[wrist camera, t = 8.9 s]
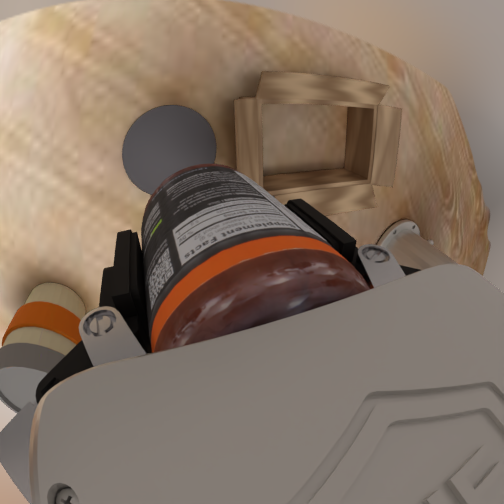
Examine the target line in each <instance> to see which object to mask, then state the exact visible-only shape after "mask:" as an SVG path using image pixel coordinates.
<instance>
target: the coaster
mask: <svg viewBox="0 0 504 504" xmlns="http://www.w3.org/2000/svg"><path fill="white" fill-rule="evenodd" d="M215 157H216V139H215V136H214V133H213V130H212V128H211V126H210V125H209V123H208V122H207V121H206V120H205V118H203V117H202V116H201V115H200V114H199V113H197V112H196V111H194V110H192V109H190V108H187V107H183V106H178V105H166V106H161V107H157V108H154V109H152V110H150V111H148V112H146V113H145V114H143V115H142V116H141V117H139V118H138V119H137V120H136V121H135V122H134V124H133V125H132V126H131V128H130V129H129V131H128V133H127V135H126V137H125V140H124V144H123V150H122V158H123V164H124V168H125V171H126V173H127V175H128V177H129V178H130V180H131V181H132V182H133V183H134V184H135V185H136V186H137V187H138V188H139V189H141V190H142V191H144V192H146V193H148V194H151V195H152V194H153V193H154V191H155V190H156V189H157V188H158V187H159V186H160V185H161V183H162V182H163V181H164V180H165V179H166V178H168V177H169V176H171V175H172V174H174V173H176V172H178V171H179V170H182V169H184V168H187V167H190V166H194V165H199V164H214V161H215Z"/></svg>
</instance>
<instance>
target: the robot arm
mask: <svg viewBox="0 0 504 504" xmlns="http://www.w3.org/2000/svg"><path fill="white" fill-rule="evenodd" d="M284 206H285V207H286V208H288V209H289V210H290V211H291V212H293V213H294V214H295V215H296V216H298V217H299V218H300V219H301V220H302V221H303V222H304V223H306V224H307V225H308V226H309V227H311V228H312V229H313V230H314V231H315V232H317V233H318V234H319V235H320V236H321V237H323V238H324V239H325V240H326V241H327V242H328V243H329V244H330V245H331V246H332V247H333V248H334V249H335V250H336V251H337V252H338V253H339V254H340V255H342V256H343V257H344V258H345V259H346V260H347V261H348V262H349V263H350V264H352V265H353V266H354V268H355V269H356V270H357V271H358V272H359V273H360V274H361V275H362V277H363V278H364V279H365V281H366V283H367V284H368V286H369V288H370V290H367V291H365V292H362V293H359V294H356V295H353V296H351V297H348V298H345V299H342V300H339V301H336V302H334V303H331V304H328V305H325V306H322V307H319V308H316V309H313V310H310V311H306V312H303V313H300V314H297V315H294V316H291V317H287V318H284V319H281V320H277V321H274V322H271V323H267V324H264V325H260V326H257V327H253V328H250V329H246V330H243V331H239V332H235V333H232V334H228V335H224V336H220V337H217V338H213V339H209V340H205V341H201V342H197V343H193V344H189V345H185V346H180V347H176V348H172V349H167V350H163V351H158V352H154V353H152V349H151V343H150V336H149V329H148V321H147V310H146V302H145V290H144V278H143V263H142V250H141V246H140V242H139V238H138V234H137V232H134V233H132V231H131V230H126V231H122V232H118V233H117V240H116V248H115V257H114V266H113V267H108V268H105V269H104V270H103V277H102V285H101V293H100V303H99V307H98V308H96V309H93V310H91V311H90V312H88V313H87V314H86V315H85V316H84V317H83V318H82V320H81V321H80V324H79V333H80V336H81V338H82V340H81V341H80V342H79V343H78V344H77V345H76V346H75V347H74V348H73V349H72V350H71V351H70V352H69V353H68V354H67V355H66V356H65V357H64V358H63V359H62V360H61V361H60V362H59V363H58V364H57V365H56V366H55V367H54V368H53V369H52V370H51V371H50V372H49V373H48V374H47V375H46V376H45V377H44V378H43V379H42V380H41V381H40V383H39V384H38V386H37V389H36V395H35V396H36V401H35V402H34V403H33V404H32V403H31V402H30V401H29V402H28V403H27V404H26V405H25V406H24V407H23V408H22V409H21V410H20V411H19V412H18V414H17V415H16V416H15V417H14V418H13V419H12V420H11V421H10V422H9V423H8V424H7V425H6V426H5V428H4V429H3V430H2V431H1V432H0V462H1V464H2V466H3V467H4V469H5V470H6V472H7V473H8V475H9V476H10V477H11V479H12V481H13V482H14V483H15V485H16V486H17V487H18V489H19V490H20V492H21V493H22V494H23V496H24V497H25V498H26V499H27V501H28V502H29V503H30V504H504V293H503V292H501V291H500V290H499V289H498V288H497V287H495V286H494V285H493V284H492V283H491V282H490V281H488V280H487V279H486V278H484V277H483V276H482V275H481V274H479V273H478V272H476V271H475V270H473V269H472V268H470V267H468V266H464V265H459V264H457V263H456V262H455V261H454V260H452V259H451V258H450V257H448V256H447V255H445V254H444V253H443V252H441V251H440V250H439V249H437V248H436V247H434V246H433V240H431V239H430V240H427V241H426V240H425V239H423V238H422V237H421V236H420V231H419V228H418V226H417V225H416V224H415V223H414V222H413V221H411V220H401V221H399V222H397V223H395V224H394V225H392V226H391V227H390V228H389V229H388V230H387V231H386V232H385V233H384V234H383V236H382V237H381V238H380V240H379V242H378V244H377V245H372V244H368V245H363V246H361V247H360V248H359V249H358V248H357V247H356V240H355V239H354V238H353V237H351V236H350V235H349V234H348V233H346V232H345V231H344V230H342V229H341V228H340V227H339V226H337V225H336V224H335V223H333V222H332V221H331V220H330V219H328V218H327V217H326V216H324V215H323V214H322V213H320V212H319V211H318V210H316V209H315V208H314V207H312V206H311V205H310V204H308V203H307V202H306V201H304V200H303V199H301V198H300V199H293V200H288V202H287V204H285V205H284Z"/></svg>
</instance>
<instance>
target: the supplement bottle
mask: <svg viewBox="0 0 504 504" xmlns="http://www.w3.org/2000/svg"><path fill="white" fill-rule="evenodd" d="M141 236H142V263H143V278H144V290H145V302H146V310H147V321H148V329H149V336H150V343H151V349H152V353H154V352H158V351H163V350H167V349H172V348H176V347H180V346H185V345H189V344H193V343H197V342H201V341H205V340H209V339H213V338H217V337H220V336H224V335H228V334H232V333H235V332H239V331H243V330H246V329H250V328H253V327H257V326H260V325H264V324H267V323H271V322H274V321H277V320H281V319H284V318H287V317H291V316H294V315H297V314H300V313H303V312H306V311H310V310H313V309H316V308H319V307H322V306H325V305H328V304H331V303H334V302H336V301H339V300H342V299H345V298H348V297H351V296H353V295H356V294H359V293H362V292H365V291H367V290H370V288H369V286H368V284H367V283H366V281H365V279H364V278H363V277H362V275H361V274H360V273H359V272H358V271H357V270H356V269H355V268H354V266H353V265H352V264H350V263H349V262H348V261H347V260H346V259H345V258H344V257H343V256H342V255H340V254H339V253H338V252H337V251H336V250H335V249H334V248H333V247H332V246H331V245H330V244H329V243H328V242H327V241H326V240H325V239H324V238H323V237H321V236H320V235H319V234H318V233H317V232H315V231H314V230H313V229H312V228H311V227H309V226H308V225H307V224H306V223H304V222H303V221H302V220H301V219H300V218H299V217H298V216H296V215H295V214H294V213H293V212H291V211H290V210H289V209H288V208H286V207H285V206H284V205H283V204H282V203H280V202H279V201H278V200H277V199H275V196H274V195H273V196H272V195H271V194H269V193H268V192H267V191H266V190H264V189H263V188H262V187H261V186H259V185H258V184H257V183H256V182H254V181H253V180H251V179H250V178H248V177H247V176H245V175H244V174H243V173H241V172H239V171H237V170H235V169H233V168H230V167H228V166H224V165H219V164H199V165H194V166H190V167H187V168H184V169H182V170H179V171H178V172H176V173H174V174H172V175H171V176H169V177H168V178H166V179H165V180H164V181H163V182H162V183H161V185H160V186H159V187H158V188H157V189H156V190H155V191H154V193H153V194H152V196H151V198H150V199H149V201H148V203H147V205H146V208H145V212H144V216H143V222H142V228H141Z"/></svg>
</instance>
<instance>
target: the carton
mask: <svg viewBox="0 0 504 504" xmlns="http://www.w3.org/2000/svg"><path fill="white" fill-rule="evenodd" d="M388 89H389V86H388V85H384V84H379V83H374V82H369V81H363V80H357V79H350V78H344V77H336V76H328V75H319V74H308V73H294V72H272V71H262V72H261V76H260V80H259V84H258V88H257V92H256V96H255V97H239V99H237V100H234V112H235V137H236V160H237V171H239V172H241V173H243V174H244V175H245V176H247V177H248V178H250V179H251V180H253V181H254V182H256V183H257V184H258V185H259V186H261V187H262V188H263V189H264V190H266V191H267V192H268V193H269V194H271V195H272V196H273V195H274V196H275V199H277V200H278V201H279V202H280V203H282V204H283V205H285V204H287V202H288V200H293V199H300V198H301V199H303V200H304V201H306V202H307V203H308V204H310V205H311V206H312V207H314V208H315V209H316V210H318V211H319V212H320V213H322V214H323V215H324V216H329V215H334V214H340V213H346V212H351V211H357V210H363V209H369V208H374V207H377V203H376V199H375V195H374V192H373V188H372V185H379V186H386V187H393V184H394V178H395V171H396V164H397V156H398V148H399V138H400V128H401V115H402V109H401V108H396V107H390V106H384V105H379V104H380V102H381V100H382V99H383V97H384V95H385V94H386V92H387V91H388ZM262 104H320V105H338V106H348V118H347V137H346V152H345V164H344V168H341V169H328V170H317V171H306V172H297V173H287V174H279V175H270V176H263V133H262Z"/></svg>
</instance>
